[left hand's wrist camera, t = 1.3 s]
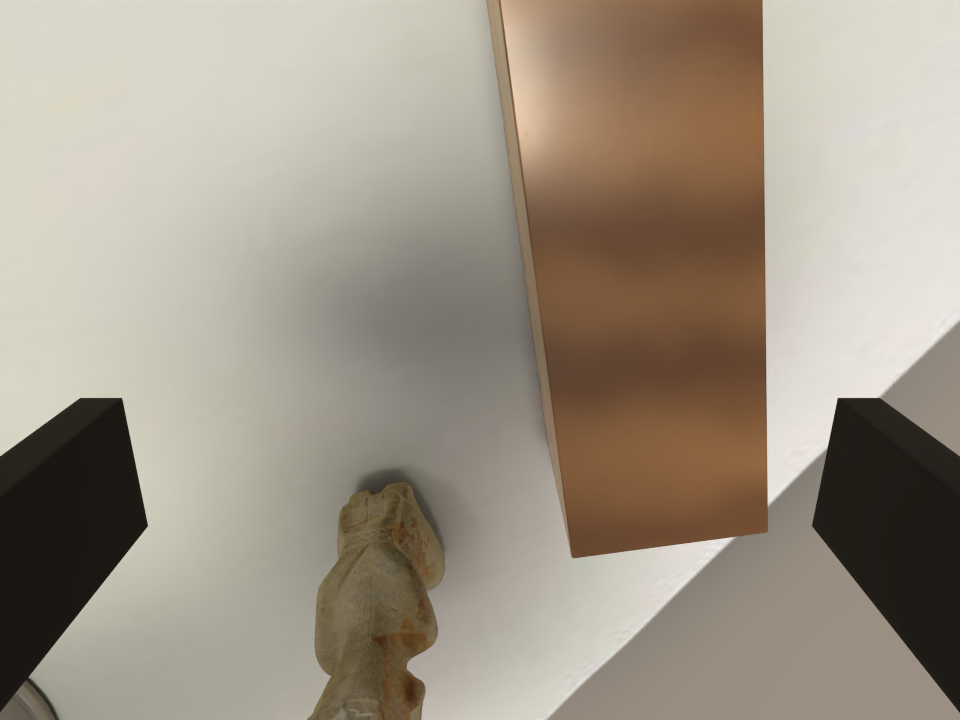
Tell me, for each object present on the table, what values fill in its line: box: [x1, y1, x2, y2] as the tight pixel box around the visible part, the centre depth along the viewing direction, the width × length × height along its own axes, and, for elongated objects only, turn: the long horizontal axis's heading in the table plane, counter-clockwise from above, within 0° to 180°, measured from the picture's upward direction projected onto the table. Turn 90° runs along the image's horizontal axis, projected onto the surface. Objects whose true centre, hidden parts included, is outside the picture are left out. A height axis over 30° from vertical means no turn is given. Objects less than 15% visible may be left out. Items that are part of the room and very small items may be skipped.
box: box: [487, 0, 768, 558], centre depth 28 cm, size 26×8×10 cm, turn 9°
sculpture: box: [307, 482, 445, 720], centre depth 33 cm, size 6×7×15 cm
